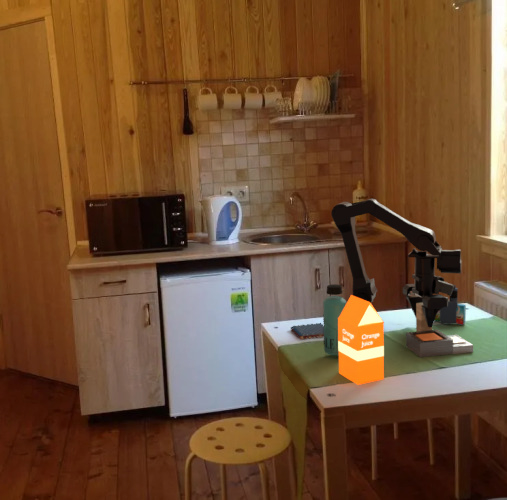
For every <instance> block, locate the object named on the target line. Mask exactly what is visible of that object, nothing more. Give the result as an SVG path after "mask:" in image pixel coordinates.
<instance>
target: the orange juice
mask: <svg viewBox="0 0 507 500" xmlns="http://www.w3.org/2000/svg"><path fill="white" fill-rule="evenodd" d="M384 323H385V322H384V321H383V319H382V317H381V316H380V314H379V313H378V312H377V310H376V309H375V307H374V306H373V304H372V303H370V302H368V301H366V300H363V299H360V298H358V297H355V296H353V294H350V297H348V300H347V301H346V305H345V307H344V309H343V311H342V313H341V315H340V316H339V318H338V351H339V355H338V373H339V374H340V375H341V376H343V377H344V378H346V379H347V380H349V381H351V382H353V383H354V384H356V385H357V386H360V385H363V384H368V383H372V382H377V381H381V380H385V373H384V372H385V370H384V368H385V367H384V366H385V365H384V364H385V363H384V360H385V358H384V357H385V341H384V337H385V336H384V335H385V333H384V331H385V328H384V327H385V326H384V325H385V324H384Z"/></svg>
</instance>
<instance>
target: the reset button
mask: <svg viewBox="0 0 507 500" xmlns="http://www.w3.org/2000/svg"><path fill="white" fill-rule="evenodd" d="M415 336H416V337H417V338H419V339H420V340H421V341H430V340H441V339H442V338H441V337H439V336H438V335H436V334H435V333H428V334H418V335H415Z"/></svg>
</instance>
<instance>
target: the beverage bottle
mask: <svg viewBox="0 0 507 500" xmlns="http://www.w3.org/2000/svg"><path fill="white" fill-rule="evenodd" d="M326 294H327V295H331V296H327V297H326V298H324V300H323V301H322V305H323V314H322V317H323V318H322V320H323V323H322V324H323V326H324V330H323V332H324V335H323V336H324V337H323V350H324V352H325V354H327V355H330V356H339V351H338V318H339V316H340V315H341V313H342V311H343V309H344V307H345V305H346V304H347V300H346V299H345V298H344V297H342V296H339V295H341V294H343V287H342V285H341V284H336V283H335V284H334V283H333V284H328V285H327V286H326Z"/></svg>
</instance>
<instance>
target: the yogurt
mask: <svg viewBox="0 0 507 500" xmlns="http://www.w3.org/2000/svg"><path fill="white" fill-rule="evenodd" d="M466 307H467V306H466V304H464V303H458V305H457V309H456V324H455V325H460V326H464V325H465V324H466V315H467V314H466V313H467V311H466V310H467V308H466ZM434 322H439V323H441V322H440V310H439V311H438V312H437V315H436V317H435V320H434Z"/></svg>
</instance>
